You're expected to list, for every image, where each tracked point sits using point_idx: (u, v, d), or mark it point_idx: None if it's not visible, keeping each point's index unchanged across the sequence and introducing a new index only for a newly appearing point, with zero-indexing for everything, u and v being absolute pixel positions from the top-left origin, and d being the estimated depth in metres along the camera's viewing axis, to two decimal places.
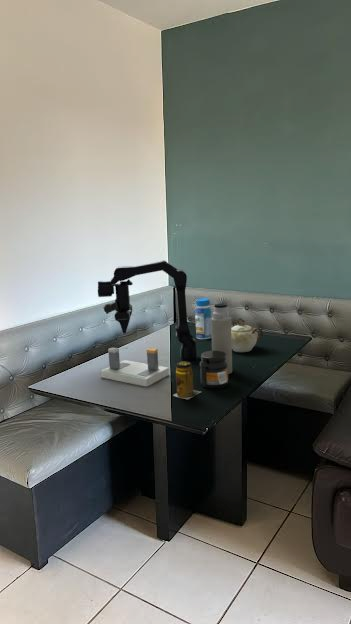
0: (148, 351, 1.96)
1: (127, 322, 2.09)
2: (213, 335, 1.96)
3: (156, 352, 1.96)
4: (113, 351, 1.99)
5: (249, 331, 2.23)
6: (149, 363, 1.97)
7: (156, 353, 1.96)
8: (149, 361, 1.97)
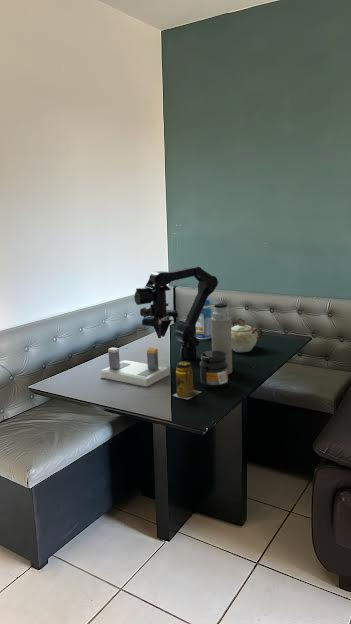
0: (148, 351, 1.96)
1: (160, 327, 2.07)
2: (213, 335, 1.96)
3: (156, 352, 1.96)
4: (113, 351, 1.99)
5: (249, 331, 2.23)
6: (149, 363, 1.97)
7: (156, 353, 1.96)
8: (149, 361, 1.97)
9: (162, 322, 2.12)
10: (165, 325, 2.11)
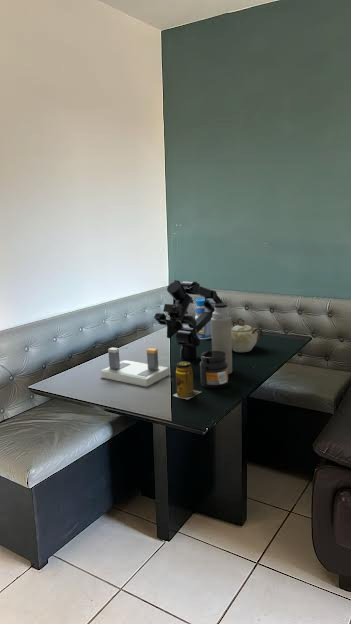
0: (148, 351, 1.96)
1: (178, 329, 2.08)
2: (213, 335, 1.96)
3: (156, 352, 1.96)
4: (113, 351, 1.99)
5: (249, 331, 2.23)
6: (149, 363, 1.97)
7: (156, 353, 1.96)
8: (149, 361, 1.97)
9: None
10: None
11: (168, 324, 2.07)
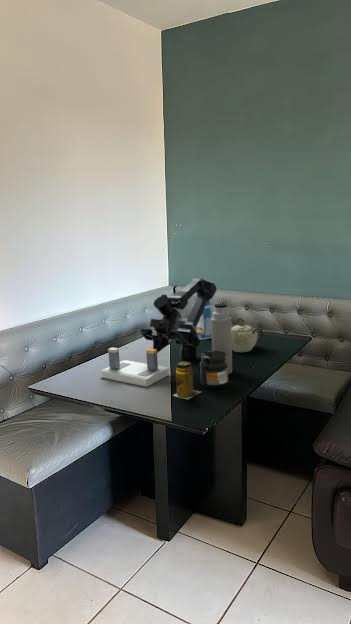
0: (147, 351, 1.96)
1: (164, 345, 2.00)
2: (213, 335, 1.96)
3: (155, 352, 1.96)
4: (113, 351, 1.99)
5: (249, 331, 2.23)
6: (148, 363, 1.97)
7: (155, 353, 1.96)
8: (148, 361, 1.97)
9: (158, 340, 2.01)
10: None
11: (154, 340, 2.00)
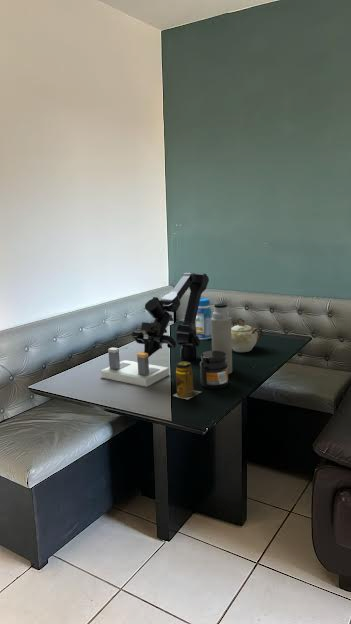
0: (138, 355, 1.91)
1: (156, 349, 1.96)
2: (213, 335, 1.96)
3: (146, 357, 1.91)
4: (113, 351, 1.99)
5: (249, 331, 2.23)
6: (139, 368, 1.92)
7: (147, 357, 1.91)
8: (139, 366, 1.92)
9: (149, 344, 1.96)
10: None
11: (146, 344, 1.95)
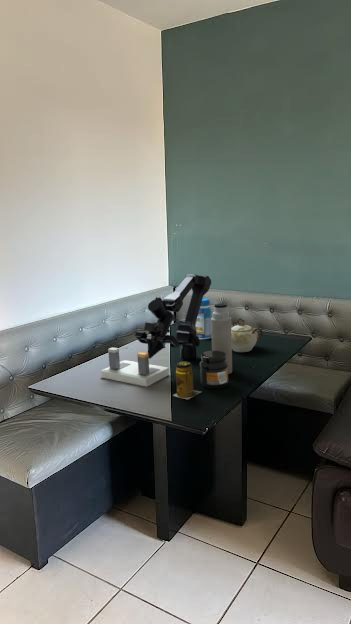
0: (139, 355, 1.91)
1: (159, 349, 1.98)
2: (213, 335, 1.96)
3: (147, 356, 1.91)
4: (113, 351, 1.99)
5: (249, 331, 2.23)
6: (140, 367, 1.92)
7: (147, 357, 1.92)
8: (139, 365, 1.92)
9: None
10: None
11: (149, 343, 1.97)
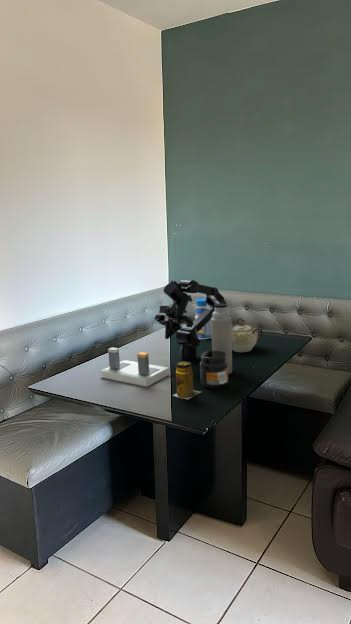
0: (139, 355, 1.91)
1: (176, 329, 2.08)
2: (213, 335, 1.96)
3: (147, 356, 1.91)
4: (113, 351, 1.99)
5: (249, 331, 2.23)
6: (140, 367, 1.92)
7: (147, 357, 1.92)
8: (139, 365, 1.92)
9: None
10: None
11: (166, 325, 2.08)
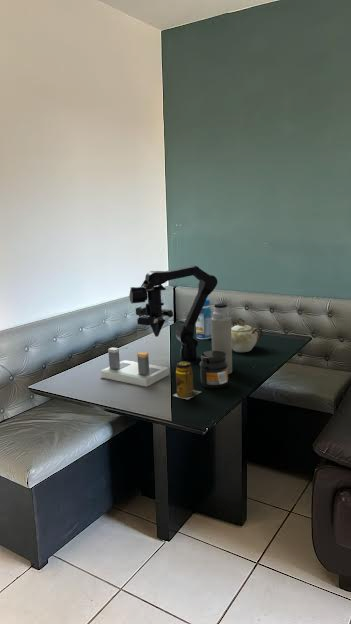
0: (139, 355, 1.91)
1: (156, 326, 2.10)
2: (213, 335, 1.96)
3: (147, 356, 1.91)
4: (113, 351, 1.99)
5: (249, 331, 2.23)
6: (140, 367, 1.92)
7: (147, 357, 1.92)
8: (139, 365, 1.92)
9: None
10: None
11: None
